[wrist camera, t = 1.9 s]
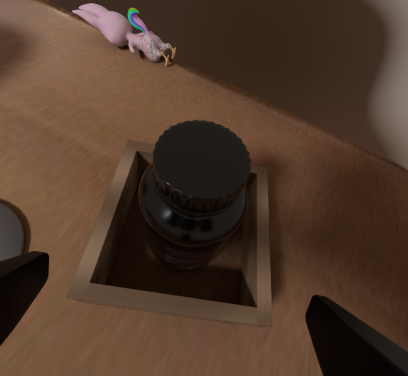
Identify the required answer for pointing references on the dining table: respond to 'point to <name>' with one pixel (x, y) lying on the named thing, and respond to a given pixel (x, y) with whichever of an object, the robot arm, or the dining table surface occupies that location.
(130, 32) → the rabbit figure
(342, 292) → the dining table surface
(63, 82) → the dining table surface
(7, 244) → the coaster
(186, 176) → the supplement bottle
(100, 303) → the walnut box
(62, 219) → the dining table surface
